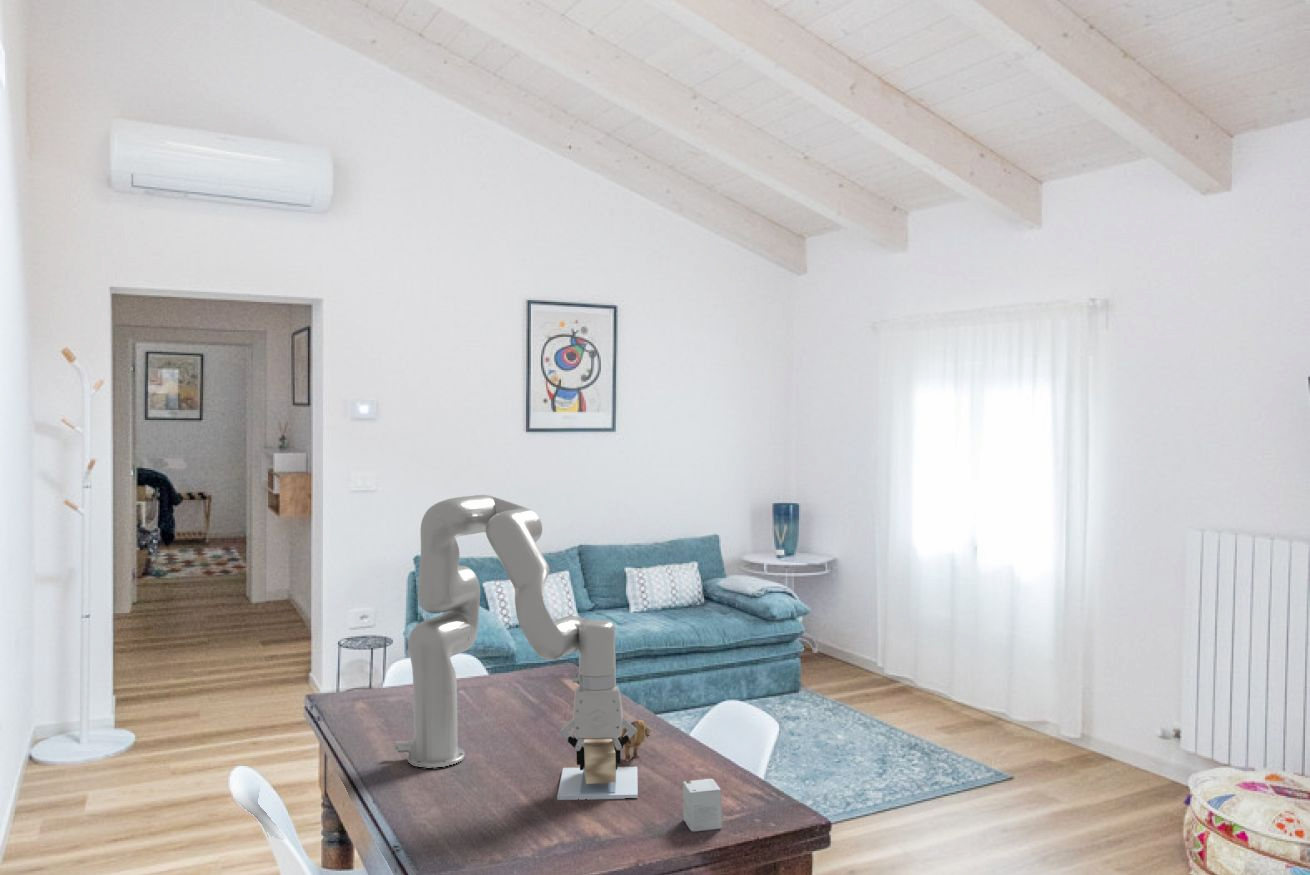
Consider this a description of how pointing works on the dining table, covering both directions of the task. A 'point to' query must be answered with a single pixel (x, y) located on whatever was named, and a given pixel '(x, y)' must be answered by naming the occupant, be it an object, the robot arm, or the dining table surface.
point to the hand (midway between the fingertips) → (598, 766)
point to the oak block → (599, 761)
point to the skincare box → (702, 805)
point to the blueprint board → (598, 785)
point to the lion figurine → (636, 737)
